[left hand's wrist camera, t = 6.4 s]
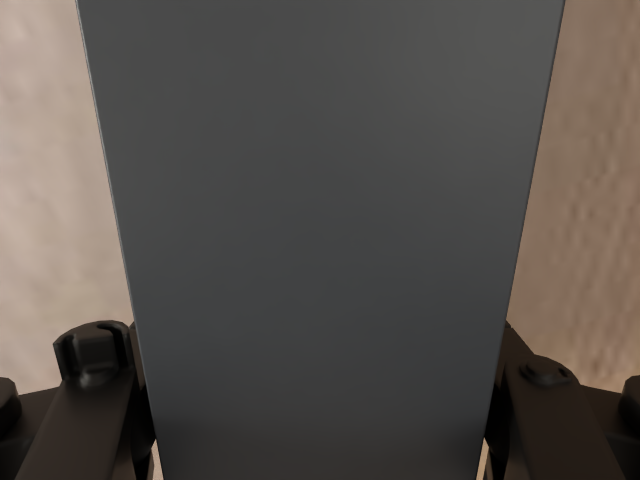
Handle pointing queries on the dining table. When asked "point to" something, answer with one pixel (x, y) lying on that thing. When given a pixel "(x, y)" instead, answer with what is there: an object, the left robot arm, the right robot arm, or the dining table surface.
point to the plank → (320, 222)
